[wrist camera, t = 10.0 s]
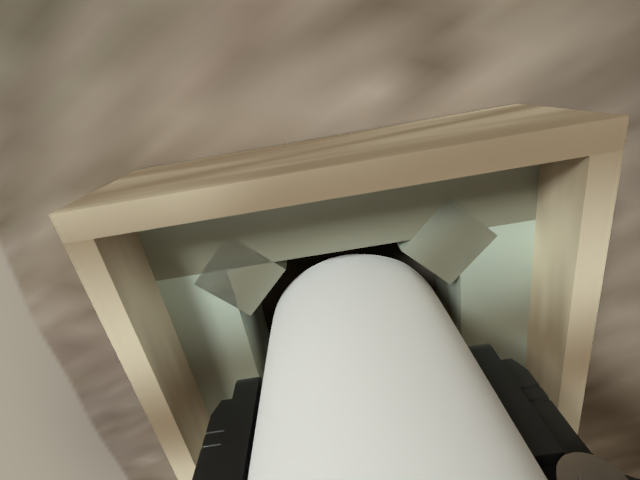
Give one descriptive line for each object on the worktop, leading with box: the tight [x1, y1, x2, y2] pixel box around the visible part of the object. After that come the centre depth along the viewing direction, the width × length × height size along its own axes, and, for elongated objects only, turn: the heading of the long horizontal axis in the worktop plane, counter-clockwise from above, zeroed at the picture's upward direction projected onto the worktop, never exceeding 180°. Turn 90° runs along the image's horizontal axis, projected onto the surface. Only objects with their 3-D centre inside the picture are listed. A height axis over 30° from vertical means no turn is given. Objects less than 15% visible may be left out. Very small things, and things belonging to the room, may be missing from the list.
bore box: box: [49, 104, 630, 480], centre depth 14 cm, size 14×14×5 cm
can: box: [248, 254, 547, 480], centre depth 9 cm, size 6×6×12 cm
